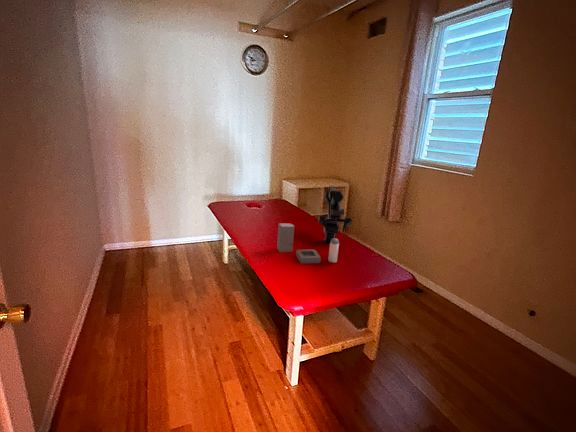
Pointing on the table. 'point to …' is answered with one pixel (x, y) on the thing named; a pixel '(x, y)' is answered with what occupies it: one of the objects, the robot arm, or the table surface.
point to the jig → (308, 256)
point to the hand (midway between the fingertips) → (334, 233)
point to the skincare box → (285, 237)
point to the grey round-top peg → (333, 250)
